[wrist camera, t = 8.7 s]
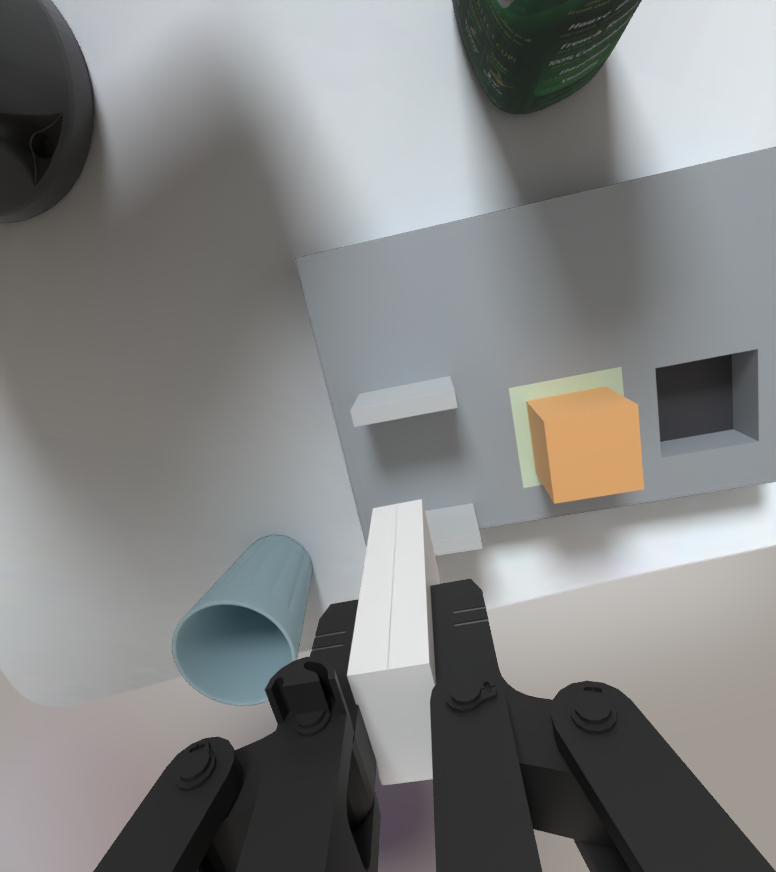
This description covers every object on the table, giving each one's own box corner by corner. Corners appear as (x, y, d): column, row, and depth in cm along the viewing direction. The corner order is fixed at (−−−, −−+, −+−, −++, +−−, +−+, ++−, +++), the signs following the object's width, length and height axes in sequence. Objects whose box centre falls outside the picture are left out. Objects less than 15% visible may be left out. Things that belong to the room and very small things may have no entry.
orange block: (526, 400, 33) (543, 421, 28) (606, 386, 32) (638, 404, 28) (535, 472, 34) (554, 503, 30) (612, 459, 34) (644, 489, 29)
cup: (335, 534, 40) (305, 618, 30) (317, 615, 42) (285, 718, 32) (239, 511, 40) (178, 589, 30) (227, 594, 42) (167, 691, 32)
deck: (305, 260, 34) (274, 254, 27) (751, 157, 31) (851, 119, 24) (370, 527, 40) (359, 581, 32) (755, 464, 36) (837, 510, 29)
